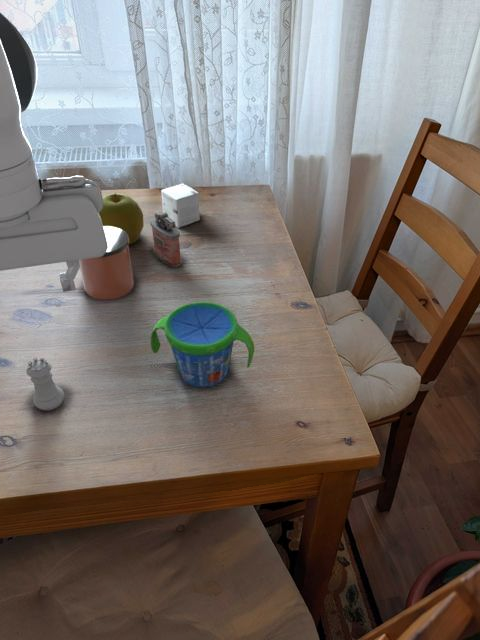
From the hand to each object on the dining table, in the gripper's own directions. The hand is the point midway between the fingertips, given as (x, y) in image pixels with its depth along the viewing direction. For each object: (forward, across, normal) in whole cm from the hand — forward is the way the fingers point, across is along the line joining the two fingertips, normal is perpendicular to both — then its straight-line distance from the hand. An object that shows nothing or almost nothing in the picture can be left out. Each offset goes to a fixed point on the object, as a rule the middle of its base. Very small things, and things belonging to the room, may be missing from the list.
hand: (27, 295), depth 62 cm
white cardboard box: (+20, -29, -50) cm, 61 cm away
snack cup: (+20, -21, -1) cm, 29 cm away
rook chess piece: (+20, +2, -1) cm, 20 cm away
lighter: (+20, -23, -35) cm, 46 cm away
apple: (+20, -15, -44) cm, 51 cm away
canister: (+20, -10, -28) cm, 36 cm away
